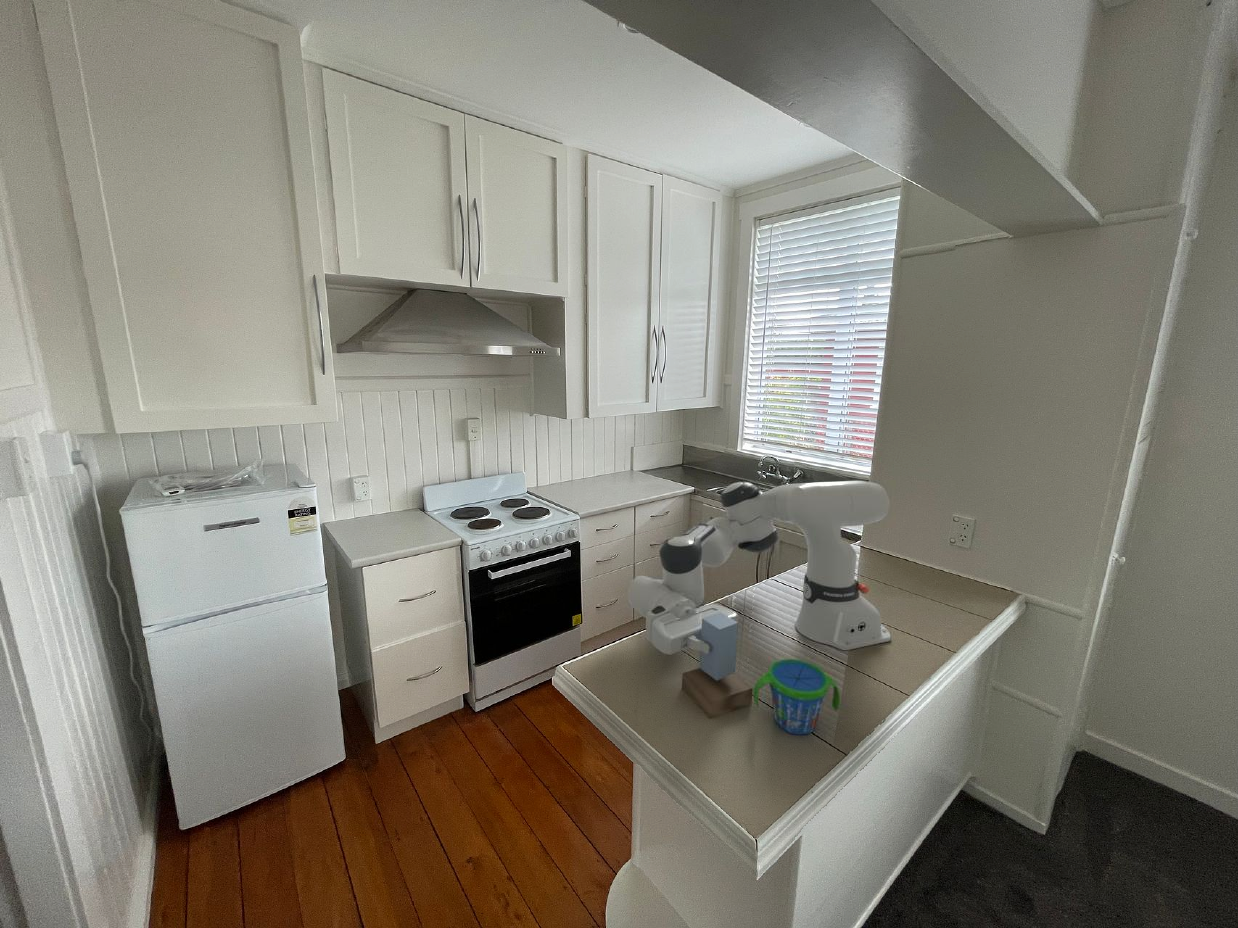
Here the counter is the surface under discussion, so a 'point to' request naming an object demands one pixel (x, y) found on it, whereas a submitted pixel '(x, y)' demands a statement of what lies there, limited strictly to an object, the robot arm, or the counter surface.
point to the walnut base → (716, 692)
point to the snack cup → (797, 694)
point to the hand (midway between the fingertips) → (721, 645)
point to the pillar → (719, 645)
